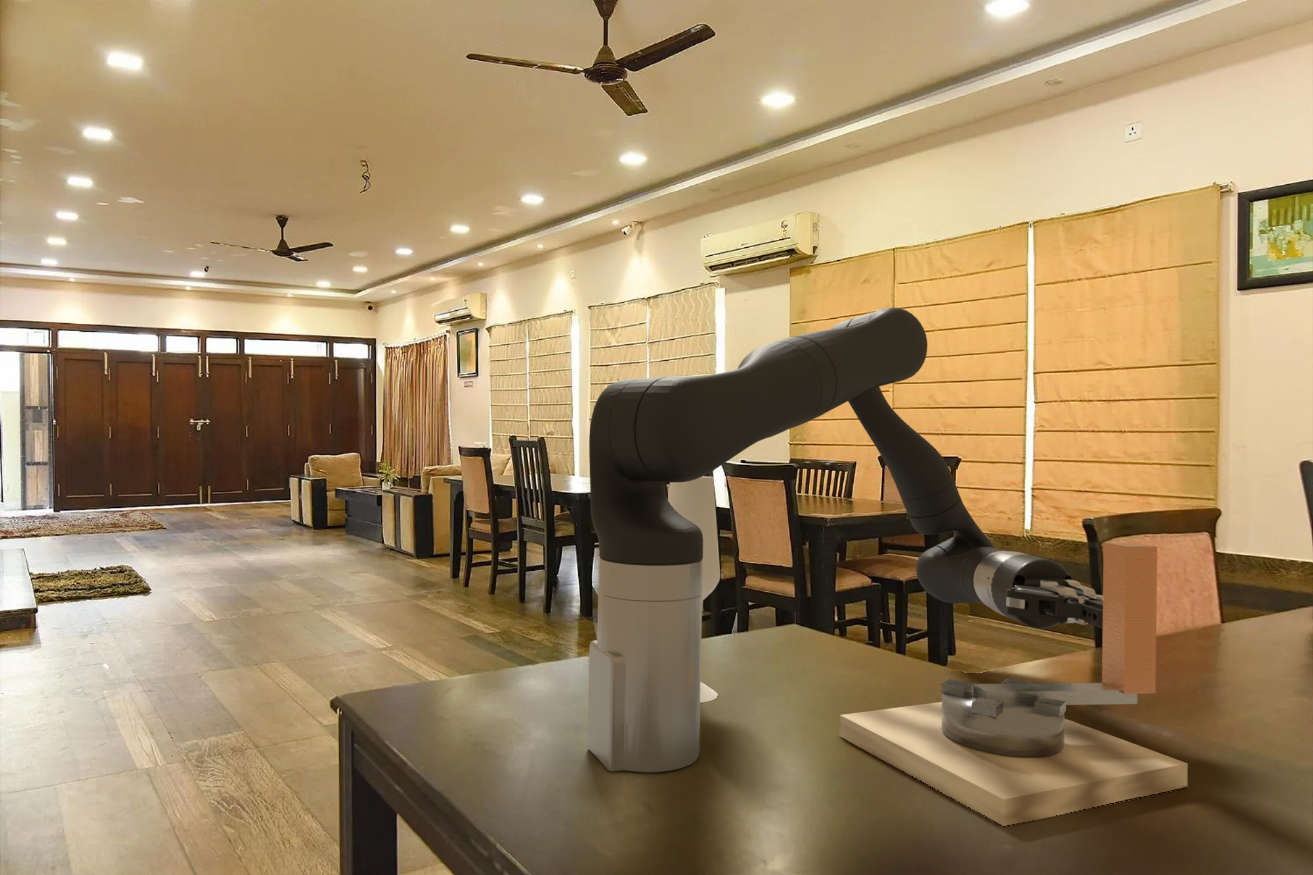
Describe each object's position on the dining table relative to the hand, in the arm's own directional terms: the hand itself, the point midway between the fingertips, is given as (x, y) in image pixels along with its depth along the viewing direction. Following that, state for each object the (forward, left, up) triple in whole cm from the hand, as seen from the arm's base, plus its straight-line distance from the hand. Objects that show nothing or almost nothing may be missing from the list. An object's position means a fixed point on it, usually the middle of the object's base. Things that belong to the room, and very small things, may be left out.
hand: (1119, 620), depth 76 cm
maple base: (-12, +2, -12) cm, 17 cm away
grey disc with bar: (-8, +1, -10) cm, 13 cm away
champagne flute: (-30, +29, -12) cm, 44 cm away
